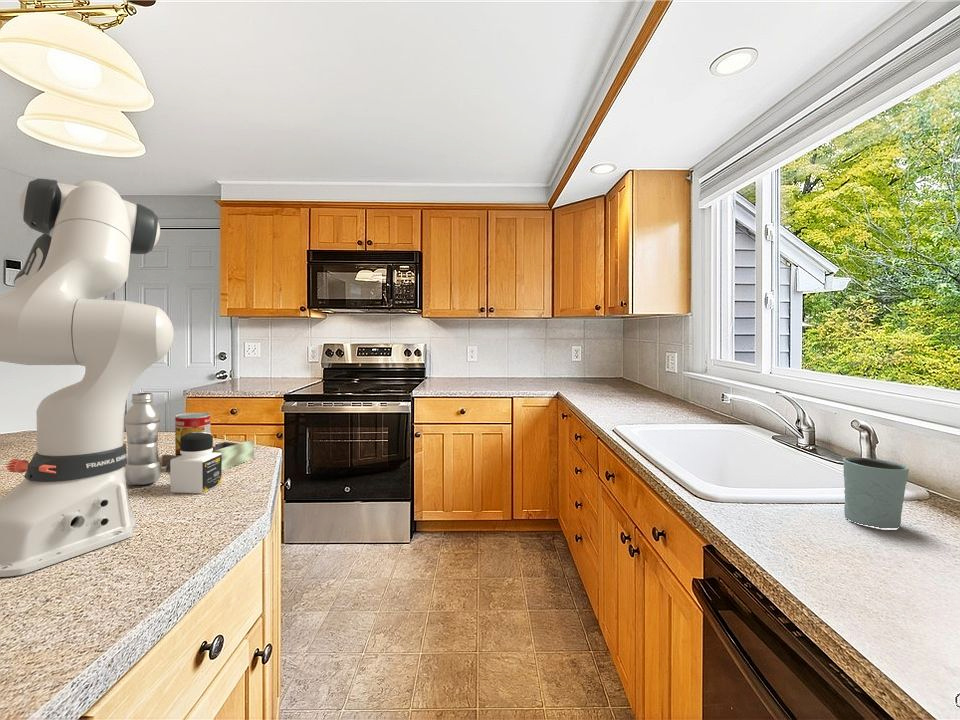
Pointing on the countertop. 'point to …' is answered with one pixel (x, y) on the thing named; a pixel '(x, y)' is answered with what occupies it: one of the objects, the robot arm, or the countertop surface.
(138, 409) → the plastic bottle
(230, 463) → the trap lane
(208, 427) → the canned food
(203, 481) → the medicine bottle
